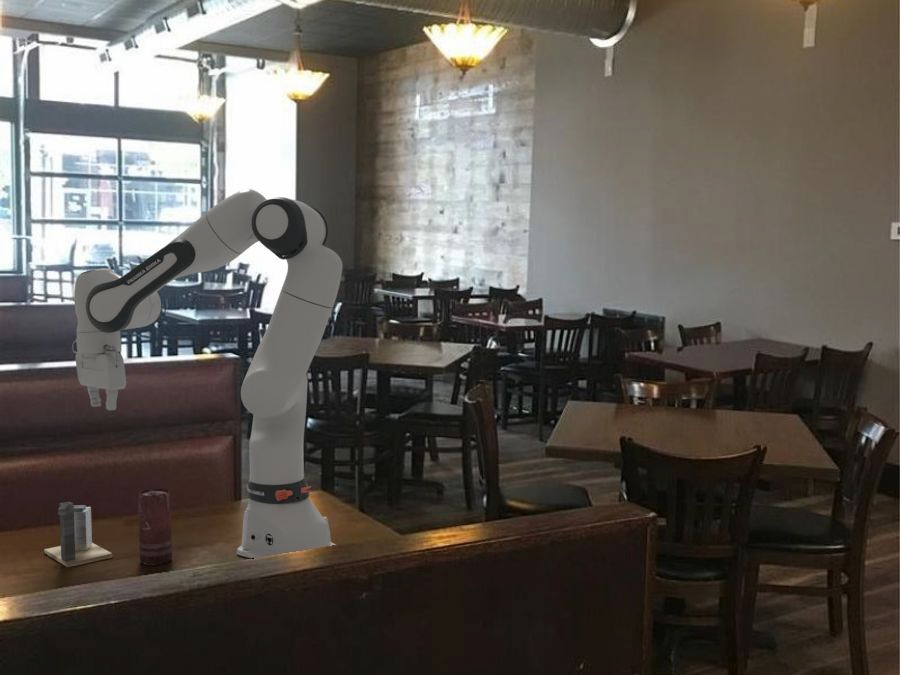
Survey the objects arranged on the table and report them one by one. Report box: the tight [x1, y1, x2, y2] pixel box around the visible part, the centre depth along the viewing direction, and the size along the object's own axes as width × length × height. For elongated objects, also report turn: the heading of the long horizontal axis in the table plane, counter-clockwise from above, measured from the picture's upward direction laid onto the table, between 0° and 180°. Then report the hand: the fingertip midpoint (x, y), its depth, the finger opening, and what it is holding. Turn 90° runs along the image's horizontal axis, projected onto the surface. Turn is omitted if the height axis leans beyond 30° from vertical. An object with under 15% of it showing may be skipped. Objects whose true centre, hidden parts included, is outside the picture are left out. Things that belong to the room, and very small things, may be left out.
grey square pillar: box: [74, 504, 93, 551], centre depth 194 cm, size 4×4×9 cm
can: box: [137, 488, 173, 565], centre depth 189 cm, size 6×6×14 cm
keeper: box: [43, 501, 114, 568], centre depth 191 cm, size 13×11×12 cm
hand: (103, 408), depth 207 cm, fingers open, 8 cm apart
